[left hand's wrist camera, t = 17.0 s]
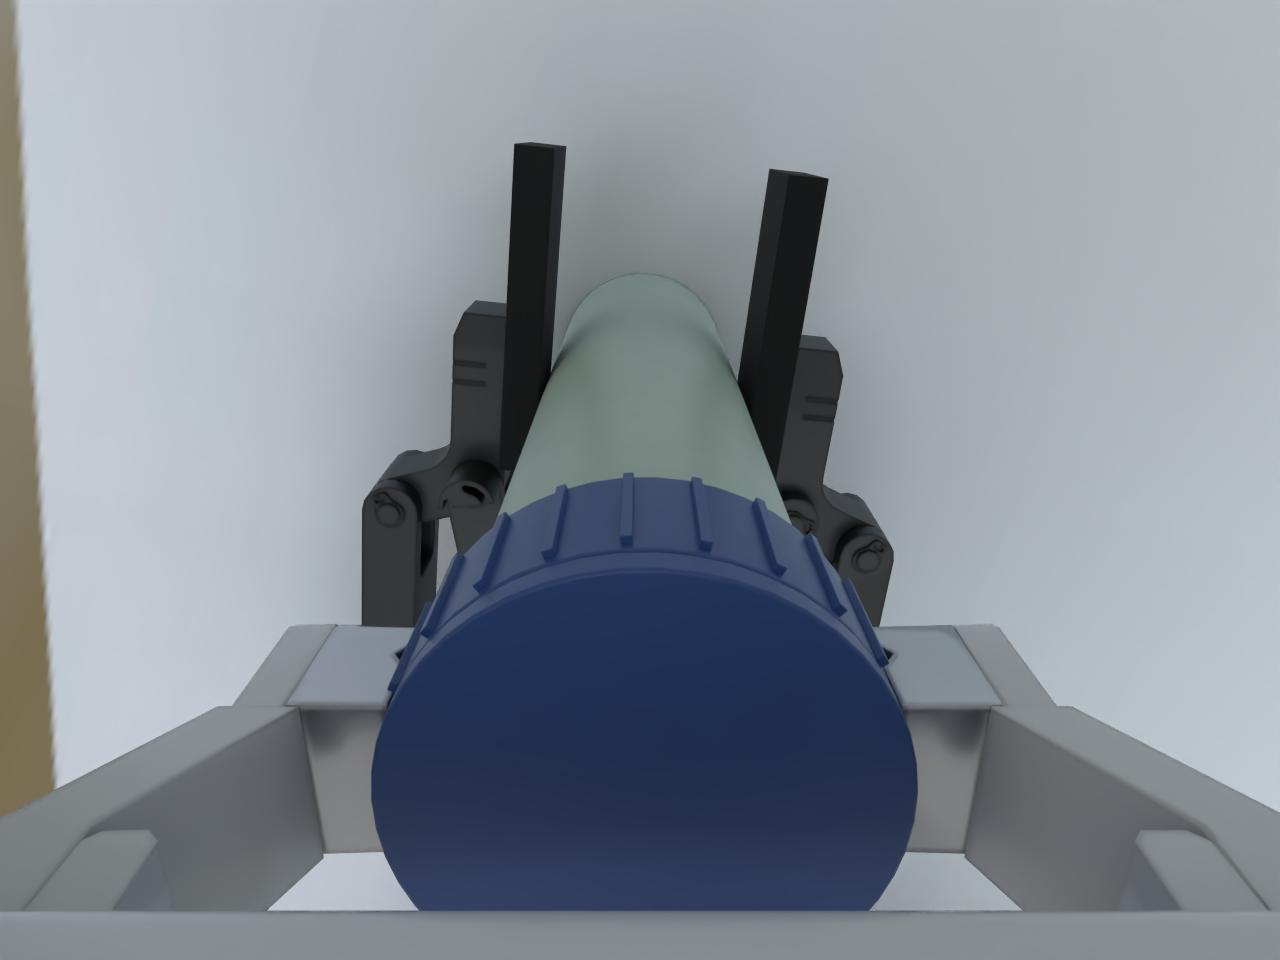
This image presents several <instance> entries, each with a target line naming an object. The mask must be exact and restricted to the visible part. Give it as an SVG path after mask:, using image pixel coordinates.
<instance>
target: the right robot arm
mask: <svg viewBox="0 0 1280 960" xmlns="http://www.w3.org/2000/svg"><path fill="white" fill-rule="evenodd" d="M565 157H566V146H559V145H550V144H541V143H532V142H530V143H518V144H514V163H513V183H512V204H511V225H510V245H509V266H508V286H507V304H505V303H496V302H486V301H475V302H474V303H473V304H472V305H471V306H470V307H469V308H468V309H467V310H466V311H465V312H464V313H463V316H462V318H461V320H460V322H459V324H458V327H457V329H456V331H455V333H454V337H453V375H452V379H453V383H452V412H451V442H450V444H449V445H448V446H445V447H443V448H440V449H436V450H432V451H428V452H421V451H418V450H410V451H405V452H403V453H401V454H399V455H398V456H397V458H396V459H395V460H394V461H393V463H392V464H391V465H390V466H389V467H388V469H387V470H386V471H385V473H384V474H383V475H382V477H381V478H380V479H379V481H378V482H377V483H376V485H375V486H374V488H373V489H372V491H371V492H370V493H369V495H368V496H367V497H366V499H365V500H364V504H363V508H362V625H377V626H416V624H417V622H418V619H419V617H420V615H421V613H422V611H423V608H424V606H425V604H426V602H427V601H428V602H431V603H433V602H434V599H435V597H436V579H437V553H438V527H439V519H442V518H446V517H450V520H451V524H452V529H453V533H454V538H455V542H456V547H457V551H458V552H459V553H460V554H462V555H464V554H465V553H466V552H467V551H468V550H469V549H470V548H471V547H472V546H473V545H474V544H475V543H476V542H477V541H478V540H479V539H480V538H481V537H482V536H483V535H484V534H485V533H487V532H488V531H489V530H491V529H492V528H493V527H494V525H495V522H496V519H497V517H498V514H499V511H500V509H501V506H502V503H503V500H504V498H505V495H506V492H507V490H508V487H509V484H510V482H511V479H512V476H513V474H514V471H515V468H516V466H517V463H518V460H519V457H520V455H521V452H522V449H523V447H524V444H525V441H526V439H527V436H528V433H529V431H530V428H531V425H532V422H533V420H534V417H535V414H536V412H537V409H538V406H539V404H540V401H541V398H542V396H543V393H544V390H545V388H546V385H547V382H548V379H549V377H550V374H551V360H552V346H553V331H554V316H555V302H556V287H557V273H558V258H559V244H560V229H561V215H562V200H563V186H564V171H565ZM827 185H828V179H827V178H823V177H819V176H815V175H811V174H807V173H801V172H793V171H784V170H775V169H769V176H768V183H767V189H766V196H765V203H764V209H763V216H762V223H761V229H760V236H759V243H758V249H757V256H756V262H755V269H754V276H753V282H752V289H751V296H750V302H749V309H748V316H747V322H746V329H745V336H744V342H743V349H742V356H741V362H740V369H739V375H738V382H737V383H738V386H739V389H740V391H741V394H742V396H743V399H744V402H745V404H746V407H747V409H748V412H749V415H750V417H751V420H752V422H753V425H754V428H755V430H756V433H757V435H758V438H759V441H760V443H761V446H762V448H763V451H764V454H765V456H766V459H767V461H768V464H769V467H770V469H771V472H772V474H773V477H774V480H775V482H776V485H777V488H778V490H779V493H780V495H781V498H782V501H783V503H784V506H785V508H786V511H787V514H788V516H789V519H790V521H791V524H792V526H794V527H795V528H797V529H798V530H799V531H800V532H801V533H802V534H803V535H804V536H806V535H807V534H809V533H812V534H813V535H814V536H815V537H816V538H817V540H818V543H819V545H820V547H821V550H822V552H823V554H824V556H825V558H826V559H827V560H828V561H829V563H830V564H831V565H832V566H833V568H834V569H835V570H836V572H837V573H838V575H839V577H840V579H841V580H842V581H844V580H846V579H848V578H849V579H850V581H851V582H852V584H853V586H854V588H855V590H856V592H857V595H858V597H859V599H860V601H861V603H862V605H863V607H864V610H865V612H866V614H867V616H868V618H869V620H870V622H871V625H872V627H879V625H880V620H881V616H882V611H883V607H884V602H885V597H886V593H887V588H888V584H889V579H890V575H891V570H892V566H893V561H894V551H893V549H892V547H891V545H890V543H889V542H888V540H887V538H886V536H885V535H884V533H883V531H882V530H881V528H880V526H879V525H878V523H877V521H876V520H875V518H874V517H873V515H872V513H871V512H870V510H869V509H868V507H867V505H866V504H865V502H864V501H863V500H862V499H861V498H860V497H858V496H857V495H854V494H850V493H842V494H841V493H839V492H837V491H834V490H832V489H830V488H828V487H826V486H825V485H823V476H824V471H825V466H826V461H827V456H828V451H829V445H830V440H831V435H832V430H833V425H834V418H835V415H836V410H837V401H838V399H839V394H840V389H841V384H842V379H843V373H842V368H841V363H840V358H839V353H838V351H837V350H836V349H835V348H834V347H833V345H832V344H831V343H830V342H829V341H828V340H827V339H826V338H825V337H817V336H808V335H801V334H802V328H803V323H804V317H805V311H806V306H807V300H808V294H809V288H810V283H811V277H812V271H813V265H814V260H815V254H816V248H817V242H818V237H819V231H820V225H821V220H822V214H823V208H824V202H825V197H826V191H827Z"/></svg>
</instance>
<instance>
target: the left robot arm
mask: <svg viewBox="0 0 1280 960" xmlns="http://www.w3.org/2000/svg"><path fill="white" fill-rule="evenodd" d="M414 628H415V626H377V625H340V626H338V625H337V624H313V625H295V626H291V627H289V628H288V629H287V630H286V632H285V633H284V634H283V636H282V637H281V639H280V640H279V641H278V643H277V644H276V646H275V647H274V648H273V650H272V651H271V652H270V654H269V655H268V657H267V658H266V659H265V661H264V662H263V664H262V665H261V666H260V668H259V669H258V671H257V672H256V673H255V675H254V676H253V677H252V679H251V680H250V682H249V683H248V684H247V686H246V687H245V689H244V690H243V691H242V693H241V694H240V696H239V697H238V698H237V700H236V701H235V702H234V704H233V705H232V706H220V707H216V708H214V709H212V710H210V711H208V712H206V713H204V714H202V715H200V716H198V717H196V718H194V719H192V720H190V721H188V722H187V723H185V724H183V725H181V726H179V727H177V728H175V729H173V730H171V731H169V732H167V733H165V734H163V735H161V736H159V737H157V738H155V739H153V740H151V741H150V742H148V743H146V744H144V745H142V746H140V747H138V748H136V749H134V750H132V751H130V752H128V753H126V754H124V755H122V756H120V757H118V758H116V759H115V760H113V761H111V762H109V763H107V764H105V765H103V766H101V767H99V768H97V769H95V770H93V771H91V772H89V773H87V774H85V775H83V776H81V777H79V778H78V779H76V780H74V781H72V782H70V783H68V784H66V785H64V786H62V787H60V788H58V789H56V790H54V791H52V792H50V793H48V794H46V795H44V796H43V797H41V798H39V799H37V800H35V801H33V802H31V803H29V804H27V805H25V806H23V807H21V808H19V809H17V810H15V811H13V812H11V813H9V814H7V815H6V816H4V817H2V818H0V960H1280V813H1279V812H1277V811H1275V810H1273V809H1271V808H1269V807H1267V806H1265V805H1263V804H1261V803H1260V802H1258V801H1256V800H1254V799H1252V798H1250V797H1248V796H1246V795H1244V794H1242V793H1240V792H1238V791H1236V790H1234V789H1232V788H1230V787H1228V786H1226V785H1224V784H1222V783H1220V782H1218V781H1216V780H1214V779H1213V778H1211V777H1209V776H1207V775H1205V774H1203V773H1201V772H1199V771H1197V770H1195V769H1193V768H1191V767H1189V766H1187V765H1185V764H1183V763H1181V762H1179V761H1177V760H1175V759H1173V758H1171V757H1169V756H1167V755H1166V754H1164V753H1162V752H1160V751H1158V750H1156V749H1154V748H1152V747H1150V746H1148V745H1146V744H1144V743H1142V742H1140V741H1138V740H1136V739H1134V738H1132V737H1130V736H1128V735H1126V734H1124V733H1122V732H1120V731H1119V730H1117V729H1115V728H1113V727H1111V726H1109V725H1107V724H1105V723H1103V722H1101V721H1099V720H1097V719H1095V718H1093V717H1091V716H1089V715H1087V714H1085V713H1083V712H1081V711H1079V710H1077V709H1075V708H1073V707H1070V706H1057V705H1056V704H1055V703H1054V701H1053V700H1052V698H1051V697H1050V696H1049V694H1048V693H1047V692H1046V690H1045V689H1044V688H1043V686H1042V685H1041V684H1040V682H1039V681H1038V680H1037V678H1036V677H1035V676H1034V674H1033V673H1032V671H1031V670H1030V669H1029V667H1028V666H1027V665H1026V663H1025V662H1024V661H1023V659H1022V658H1021V657H1020V655H1019V654H1018V653H1017V651H1016V650H1015V649H1014V647H1013V646H1012V645H1011V643H1010V642H1009V640H1008V639H1007V638H1006V636H1005V635H1004V634H1003V632H1002V631H1001V630H1000V628H999V627H997V626H994V625H992V624H972V625H939V626H898V627H873V629H874V631H875V633H876V635H877V637H878V639H879V642H880V644H881V646H882V648H883V650H884V652H885V654H886V657H887V659H888V661H889V664H888V665H886V666H884V672H885V674H886V676H887V678H888V681H889V683H890V686H891V687H892V689H893V692H894V694H895V696H896V698H897V701H898V703H899V705H900V708H901V710H902V713H903V715H904V718H905V720H906V723H907V725H908V728H909V730H910V733H911V737H912V742H913V746H914V751H915V756H916V760H917V775H918V797H917V805H916V814H915V821H914V825H913V828H912V832H911V835H910V839H909V842H908V846H907V849H906V851H905V852H927V853H963V854H965V858H966V859H967V860H968V861H969V862H970V863H971V864H973V865H974V866H975V867H976V868H977V869H978V870H979V871H980V872H981V873H982V874H984V875H985V876H986V877H987V878H988V879H989V880H990V881H991V882H992V883H993V884H994V885H996V886H997V887H998V888H999V889H1000V890H1001V891H1002V892H1003V893H1004V894H1005V895H1007V896H1008V897H1009V898H1010V899H1011V900H1012V901H1013V902H1014V903H1015V904H1016V905H1017V906H1019V907H1020V908H1021V909H1022V910H1023V911H266V910H268V909H269V908H270V907H271V906H272V905H273V904H274V903H275V902H276V901H277V900H278V899H279V898H281V897H282V896H283V895H284V894H285V893H286V892H287V891H288V890H289V889H290V888H291V887H293V886H294V885H295V884H296V883H297V882H298V881H299V880H300V879H301V878H302V877H303V876H305V875H306V874H307V873H308V872H309V871H310V870H311V869H312V868H313V867H314V866H315V865H316V864H318V863H319V862H320V861H321V860H322V859H323V858H324V857H323V854H325V853H360V852H383V849H382V846H381V843H380V840H379V837H378V834H377V831H376V826H375V820H374V814H373V808H372V802H371V768H372V762H373V756H374V750H375V744H376V740H377V737H378V734H379V731H380V729H381V726H382V723H383V720H384V717H385V714H386V712H387V709H388V707H389V705H390V702H391V700H392V698H393V696H394V694H395V693H393V692H390V691H388V690H387V688H388V686H389V683H390V681H391V679H392V676H393V674H394V672H395V670H396V668H397V665H398V663H399V661H400V659H401V657H402V654H403V652H404V650H405V648H406V646H407V644H408V641H409V639H410V637H411V635H412V633H413V630H414Z"/></svg>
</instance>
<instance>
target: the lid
mask: <svg viewBox="0 0 1280 960" xmlns="http://www.w3.org/2000/svg"><path fill="white" fill-rule="evenodd" d="M888 664H889V661H888V659H887V657H886V654H885V652H884V650H883V648H882V646H881V644H880V642H879V639H878V637H877V635H876V633H875V631H874V629H873V627H872V625H871V622H870V620H869V618H868V616H867V614H866V612H865V610H864V607H863V605H862V603H861V601H860V599H859V597H858V595H857V592H856V590H855V588H854V586H853V584H852V582H851V581H850V579H849V578H848V579H846V580H844V581H842V580H841V579H840V577H839V575H838V573H837V572H836V570H835V569H834V568H833V566H832V565H831V564H830V563H829V561H828V560H827V559H826V558H825V556H824V554H823V552H822V550H821V547H820V545H819V543H818V540H817V538H816V537H815V536H814V535H813V534H812V533H809V534H807V535H806V536H804V535H803V534H802V533H801V532H800V531H799V530H798V529H797V528H795V527H794V526H792V525H791V524H789V523H788V522H787V521H785V520H784V519H782V518H781V517H780V516H778V515H777V514H775V513H774V512H772V511H770V510H768V509H767V506H766V503H765V501H764V500H761V499H759V498H757V497H756V498H755V500H754V502H753V501H751V500H749V499H747V498H745V497H742V496H739V495H737V494H734V493H731V492H728V491H726V490H723V489H720V488H718V487H713V486H709V485H705V484H703V482H702V479H701V478H697V477H692V479H691V481H687V480H678V479H669V478H659V477H634V473H633V472H632V473H623V478H617V479H610V480H603V481H596V482H590V483H587V484H583V485H579V486H576V487H572V488H567V486H566V484H563V485H560V486H557V487H556V491H555V493H554V494H551V495H549V496H546V497H544V498H542V499H539V500H537V501H534V502H532V503H530V504H529V505H527V506H525V507H523V508H522V509H520V510H518V511H516V512H515V513H513V514H511V515H508V514H507V513H506V512H504V513H502V514H501V515H499V516H498V517H497V520H496V523H495V526H494V527H493V528H492V529H491V530H489V531H488V532H487V533H485V534H484V535H483V536H482V537H481V538H480V539H479V540H478V541H477V542H476V543H475V544H474V545H473V546H472V547H471V548H470V549H469V550H468V551H467V552H466V553H465V554H464V555H462V554H460V553H459V552H457V554H456V555H455V556H454V557H453V559H452V561H451V563H450V565H449V568H448V570H447V572H446V574H445V577H444V579H443V581H442V583H441V586H440V588H439V590H438V593H437V595H436V597H435V599H434V602H433V603H431V602H428V601H427V602H426V604H425V606H424V608H423V611H422V613H421V615H420V617H419V619H418V622H417V624H416V626H415V628H414V630H413V633H412V635H411V637H410V639H409V641H408V644H407V646H406V648H405V650H404V652H403V654H402V657H401V659H400V661H399V663H398V665H397V668H396V670H395V672H394V674H393V676H392V679H391V681H390V683H389V686H388V688H387V690H388V691H390V692H393V693H395V694H394V696H393V698H392V700H391V702H390V705H389V707H388V709H387V712H386V714H385V717H384V720H383V723H382V726H381V729H380V731H379V734H378V737H377V740H376V744H375V750H374V756H373V762H372V768H371V802H372V808H373V814H374V820H375V826H376V831H377V834H378V837H379V840H380V843H381V846H382V849H383V852H384V855H385V857H386V859H387V861H388V863H389V865H390V867H391V869H392V871H393V873H394V875H395V877H396V879H397V881H398V882H399V884H400V885H401V887H402V888H403V890H404V891H405V892H406V894H407V895H408V897H409V898H410V899H411V901H412V902H413V904H414V905H415V906H416V907H417V908H418V910H419V911H869V910H870V909H871V908H872V906H873V905H874V904H875V903H876V902H877V901H878V900H879V898H880V897H881V895H882V894H883V892H884V890H885V889H886V887H887V886H888V884H889V883H890V881H891V880H892V878H893V877H894V875H895V873H896V871H897V869H898V867H899V864H900V862H901V860H902V858H903V856H904V854H905V851H906V849H907V846H908V842H909V839H910V835H911V832H912V828H913V825H914V821H915V814H916V805H917V797H918V775H917V760H916V756H915V751H914V746H913V742H912V737H911V733H910V730H909V728H908V725H907V723H906V720H905V718H904V715H903V713H902V710H901V708H900V705H899V703H898V701H897V698H896V696H895V694H894V692H893V689H892V687H891V686H890V683H889V681H888V678H887V676H886V674H885V672H884V666H886V665H888Z"/></svg>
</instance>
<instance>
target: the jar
mask: <svg viewBox="0 0 1280 960" xmlns="http://www.w3.org/2000/svg"><path fill="white" fill-rule="evenodd" d="M632 472H633V473H634V477H659V478H669V479H678V480H687V481H691V479H692V477H697V478H701V479H702V482H703V484H705V485H709V486H713V487H718V488H720V489H723V490H726V491H728V492H731V493H734V494H737V495H739V496H742V497H745V498H747V499H749V500H751V501H753V502H754V500H755V498H756V497H757V498H759V499H761V500H764V501H765V503H766V506H767V509H768V510H770V511H772V512H774V513H775V514H777V515H778V516H780V517H781V518H782V519H784V520H785V521H787V522H788V523H789V524H791V521H790V519H789V516H788V514H787V511H786V508H785V506H784V503H783V501H782V498H781V495H780V493H779V490H778V488H777V485H776V482H775V480H774V477H773V474H772V472H771V469H770V467H769V464H768V461H767V459H766V456H765V454H764V451H763V448H762V446H761V443H760V441H759V438H758V435H757V433H756V430H755V428H754V425H753V422H752V420H751V417H750V415H749V412H748V409H747V407H746V404H745V402H744V399H743V396H742V394H741V391H740V389H739V386H738V383H737V381H736V378H735V376H734V373H733V370H732V368H731V365H730V363H729V360H728V357H727V355H726V352H725V350H724V347H723V344H722V342H721V339H720V337H719V334H718V331H717V329H716V326H715V324H714V321H713V319H712V317H711V315H710V313H709V311H708V310H707V308H706V307H705V305H704V304H703V303H702V302H701V300H700V299H699V298H698V297H697V296H696V295H695V294H694V293H693V292H691V291H690V290H689V289H688V288H686V287H685V286H683V285H682V284H680V283H678V282H676V281H674V280H672V279H669V278H666V277H663V276H658V275H653V274H631V275H626V276H621V277H618V278H615V279H613V280H610V281H608V282H606V283H604V284H602V285H601V286H599V287H598V288H596V289H595V290H593V291H592V292H591V293H590V294H589V295H588V296H587V297H586V298H585V299H584V300H583V301H582V303H581V304H580V305H579V306H578V308H577V309H576V311H575V313H574V314H573V316H572V319H571V321H570V323H569V326H568V328H567V331H566V334H565V336H564V339H563V342H562V345H561V347H560V350H559V353H558V355H557V358H556V361H555V363H554V366H553V369H552V371H551V374H550V377H549V379H548V382H547V385H546V388H545V390H544V393H543V396H542V398H541V401H540V404H539V406H538V409H537V412H536V414H535V417H534V420H533V422H532V425H531V428H530V431H529V433H528V436H527V439H526V441H525V444H524V447H523V449H522V452H521V455H520V457H519V460H518V463H517V466H516V468H515V471H514V474H513V476H512V479H511V482H510V484H509V487H508V490H507V492H506V495H505V498H504V500H503V503H502V506H501V509H500V511H499V514H498V516H499V515H501V514H502V513H504V512H506V513H507V514H508V515H511V514H513V513H515V512H516V511H518V510H520V509H522V508H523V507H525V506H527V505H529V504H530V503H532V502H534V501H537V500H539V499H542V498H544V497H546V496H549V495H551V494H554V493H555V491H556V487H557V486H560V485H563V484H566V486H567V488H572V487H576V486H579V485H583V484H587V483H590V482H596V481H603V480H610V479H617V478H623V473H632ZM496 520H497V519H496ZM495 523H496V522H495ZM791 525H792V524H791ZM494 526H495V525H494Z"/></svg>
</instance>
